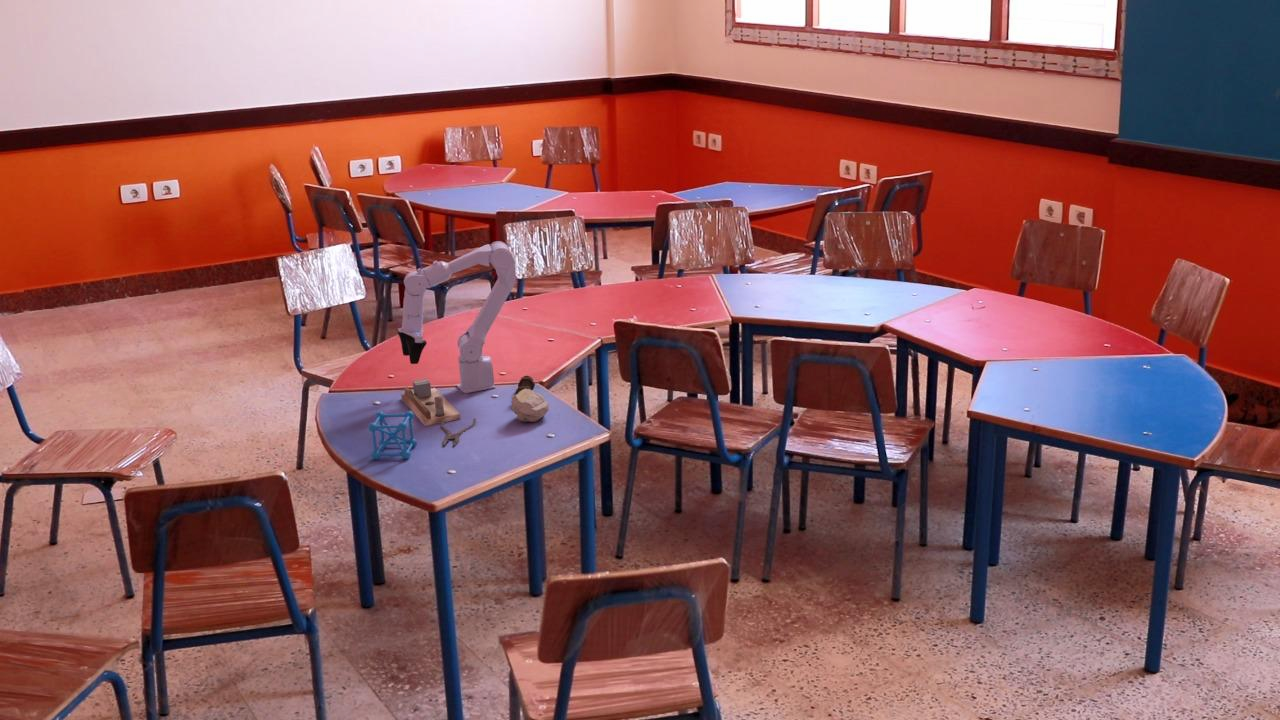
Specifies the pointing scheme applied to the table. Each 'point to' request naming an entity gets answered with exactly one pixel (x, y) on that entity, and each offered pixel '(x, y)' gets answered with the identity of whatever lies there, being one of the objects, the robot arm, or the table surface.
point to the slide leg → (422, 388)
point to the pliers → (454, 436)
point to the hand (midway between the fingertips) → (410, 359)
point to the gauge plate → (430, 407)
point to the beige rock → (529, 405)
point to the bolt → (525, 384)
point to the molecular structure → (392, 435)
